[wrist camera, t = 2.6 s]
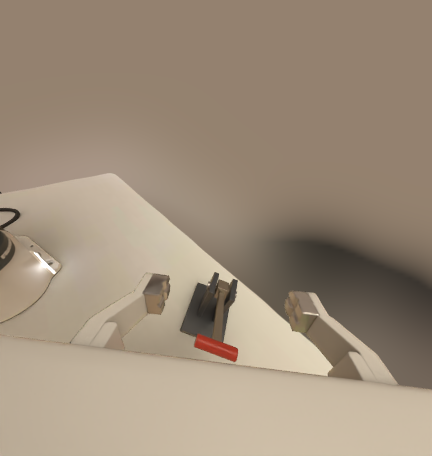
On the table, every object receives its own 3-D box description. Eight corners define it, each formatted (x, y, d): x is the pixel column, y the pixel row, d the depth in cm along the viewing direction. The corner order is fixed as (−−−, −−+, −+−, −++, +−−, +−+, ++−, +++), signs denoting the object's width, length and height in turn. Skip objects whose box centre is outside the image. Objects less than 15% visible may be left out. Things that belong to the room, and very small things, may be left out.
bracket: (221, 346, 36) (245, 329, 26) (180, 331, 36) (188, 307, 26) (230, 296, 45) (250, 269, 35) (197, 284, 45) (208, 253, 35)
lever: (232, 367, 19) (239, 353, 19) (191, 352, 19) (197, 338, 19) (232, 294, 33) (236, 285, 33) (208, 286, 33) (211, 276, 33)
